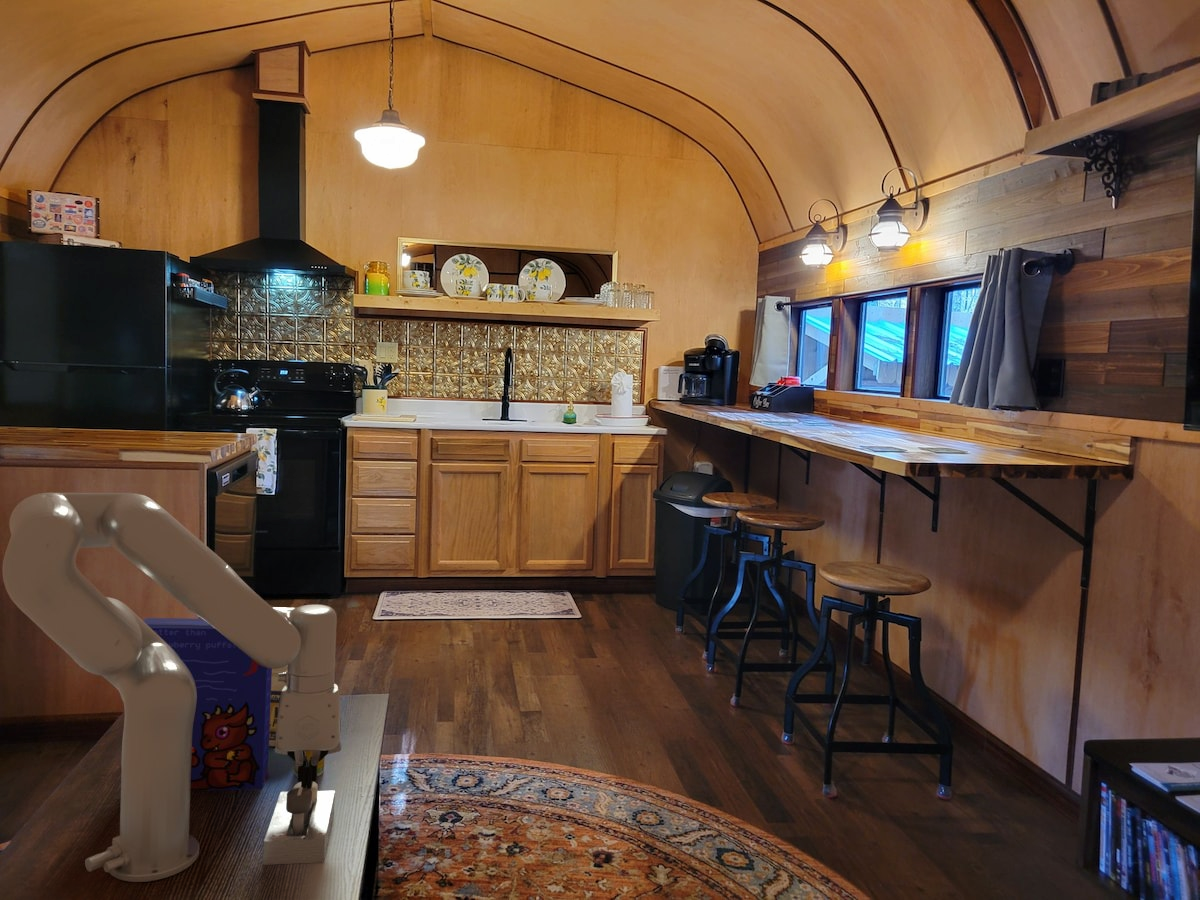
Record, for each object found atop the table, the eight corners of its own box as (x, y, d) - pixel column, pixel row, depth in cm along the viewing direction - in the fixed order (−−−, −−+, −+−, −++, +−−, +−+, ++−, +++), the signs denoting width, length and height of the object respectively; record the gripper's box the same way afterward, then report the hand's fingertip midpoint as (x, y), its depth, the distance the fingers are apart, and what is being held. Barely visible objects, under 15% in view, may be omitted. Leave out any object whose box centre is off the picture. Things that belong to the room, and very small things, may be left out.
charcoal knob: (308, 837, 137) (310, 797, 137) (283, 838, 137) (285, 798, 136) (311, 825, 141) (313, 786, 141) (287, 826, 140) (288, 787, 140)
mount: (323, 862, 137) (324, 839, 136) (263, 864, 135) (264, 841, 134) (334, 811, 152) (334, 790, 152) (279, 813, 150) (280, 791, 150)
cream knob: (314, 828, 146) (316, 790, 146) (290, 828, 146) (292, 791, 145) (317, 816, 150) (318, 780, 150) (294, 817, 149) (295, 780, 149)
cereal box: (267, 773, 164) (273, 618, 162) (261, 788, 158) (268, 627, 156) (142, 776, 160) (146, 616, 157) (131, 792, 154) (136, 626, 152)
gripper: (259, 688, 141) (256, 797, 142) (355, 687, 144) (351, 794, 145) (267, 672, 148) (264, 776, 150) (358, 671, 151) (354, 773, 153)
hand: (307, 785), depth 147 cm, fingers closed
